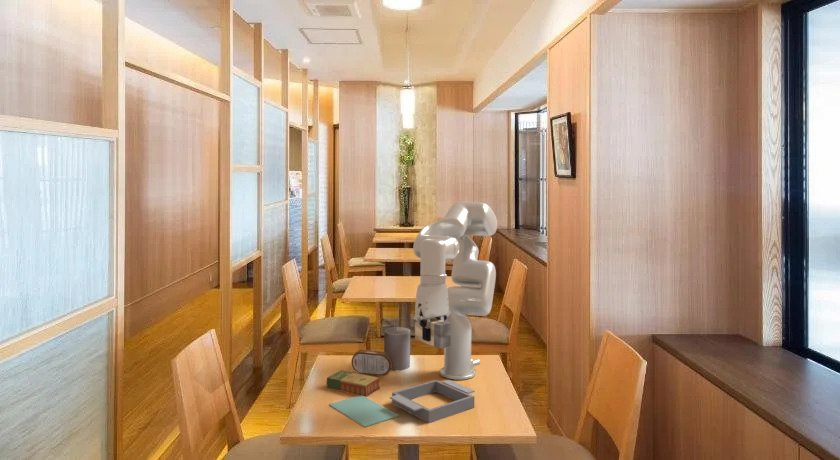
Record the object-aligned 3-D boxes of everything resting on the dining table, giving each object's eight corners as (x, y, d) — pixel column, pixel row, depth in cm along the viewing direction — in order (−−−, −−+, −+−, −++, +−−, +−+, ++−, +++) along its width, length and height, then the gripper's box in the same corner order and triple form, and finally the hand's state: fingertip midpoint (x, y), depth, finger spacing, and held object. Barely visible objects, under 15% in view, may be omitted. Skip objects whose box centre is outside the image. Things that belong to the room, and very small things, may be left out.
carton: (366, 398, 183) (365, 385, 182) (326, 389, 190) (325, 376, 190) (380, 389, 190) (380, 376, 190) (341, 381, 198) (340, 369, 197)
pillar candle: (382, 363, 216) (381, 324, 214) (407, 361, 218) (407, 322, 216) (386, 371, 206) (386, 331, 205) (412, 369, 209) (413, 329, 207)
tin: (393, 374, 204) (393, 351, 203) (390, 377, 201) (390, 354, 200) (353, 370, 207) (353, 348, 206) (350, 373, 204) (350, 350, 203)
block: (425, 337, 180) (425, 315, 179) (450, 346, 171) (450, 323, 170) (415, 339, 178) (415, 317, 177) (440, 348, 168) (440, 325, 168)
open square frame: (442, 388, 191) (443, 377, 190) (481, 405, 177) (481, 393, 176) (384, 405, 176) (384, 394, 175) (420, 425, 162) (420, 413, 161)
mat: (361, 395, 184) (361, 394, 183) (399, 416, 168) (399, 415, 168) (329, 405, 176) (329, 404, 176) (364, 427, 160) (364, 426, 160)
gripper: (445, 275, 181) (444, 331, 182) (403, 281, 170) (403, 341, 172) (461, 278, 175) (460, 336, 177) (419, 285, 164) (418, 347, 166)
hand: (432, 338), depth 174 cm, fingers closed on block, 4 cm apart
